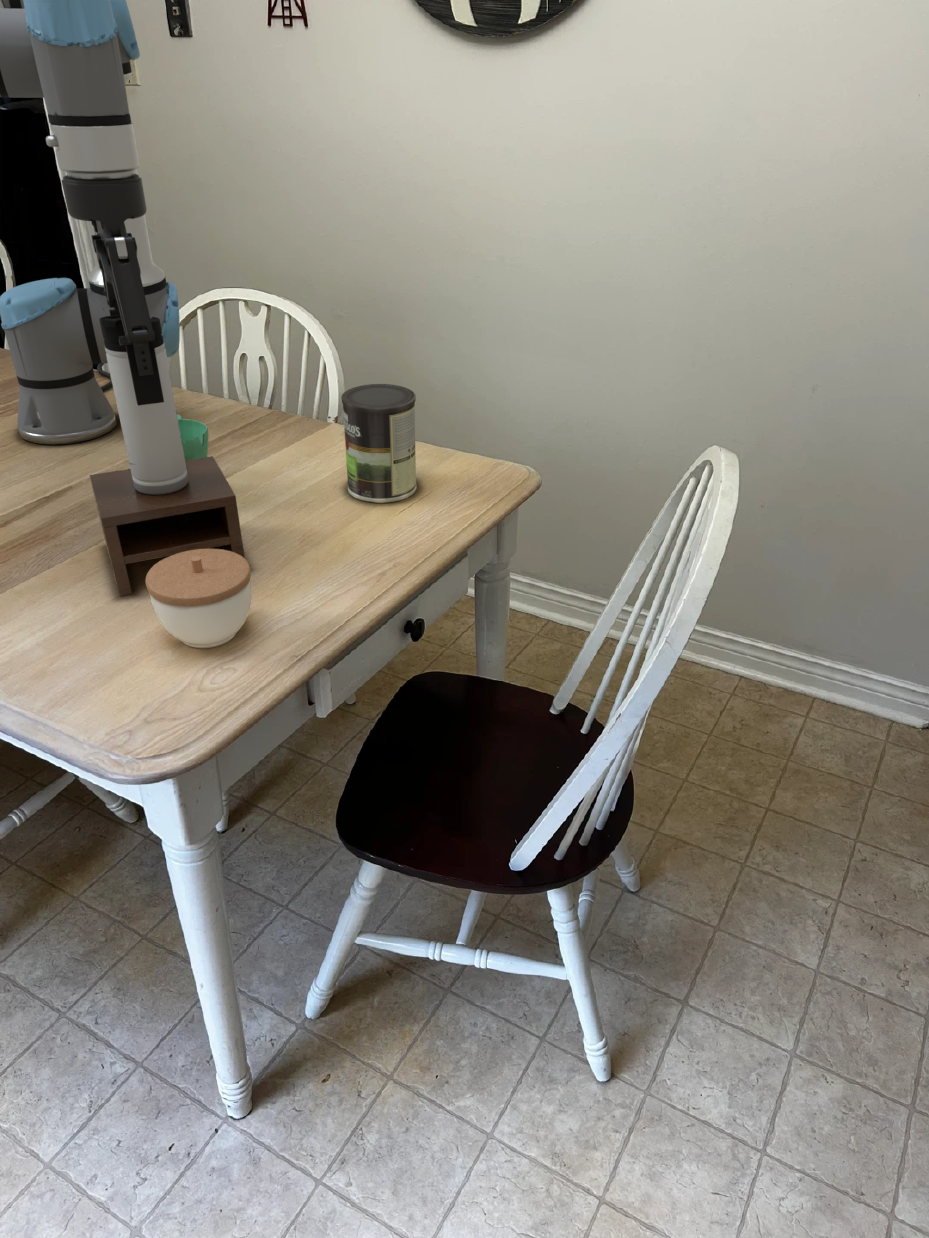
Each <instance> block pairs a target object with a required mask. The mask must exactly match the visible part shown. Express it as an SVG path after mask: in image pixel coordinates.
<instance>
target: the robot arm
mask: <svg viewBox="0 0 929 1238" xmlns="http://www.w3.org/2000/svg"><path fill="white" fill-rule="evenodd" d="M140 55H141V52H140V48H139V45H138V40H137V36H136V32H135V28H134V24H133V21H132V17H131V14H130V10H129V7H128V2H127V0H0V98H3V99H5V98H10V99H11V98H14V99H16V98H18V99H19V98H22V99H23V98H25V99H30V98H32V99H33V98H34V99H41V98H42V99H44V103H45V107H46V111H47V118H48V124H49V125H50V126H49V127H50V130H51V131H52V132H53V133H54V134H53V135H47V136H46V137H45V142H46V145H47V146H48V147H49V148H56V149H55V155H56V159H57V163H58V167H59V169H60V170H61V171H63V172H65V173H67V175H64V176H63V177H62V179H61V185H62V190H63V194H64V199H65V204H66V208H67V212H68V215H69V216H70V217H71V218H73V219H75V220H78V221H83V222H86V227H87V230H88V236H89V240H90V245H91V250H92V254H93V260H94V267H93V269H92V270H91V271H90V272H89V274H88V275H87V281H88V285H89V287H84V288H83V287H82V288H81V287H80V288H77V285H76V283H75V282H74V281H73V280H72V278H68V277H59V278H58V277H52V278H44V279H40V280H39V279H38V280H34V281H29V282H26V283H23V284H20V285H16V286H14V287H12V288H10V289H8V290H6V291H4V292H3V293H2V294H1V295H0V320H1V324H0V325H1V328H2V330H3V332H4V335H5V338H6V342H7V346H8V349H9V350H8V351H9V353H10V357H11V360H12V364H13V368H14V372H15V376H16V378H17V382H18V383H17V384H18V387H19V394H18V405H17V406H18V407H17V421H16V423H17V428H18V429H17V430H18V432H19V435H20V437H21V438H22V439H23V440H24V441H28V442H30V443H35V444H41V445H66V444H75V443H80V442H85V441H89V440H93V439H96V438H99V437H102V436H104V435H106V434H107V433H109V432H112V430H114V429H115V427H116V426H117V418H116V413H115V411H114V409H113V406H112V405H111V403H110V401H109V400H108V398H107V397H106V395H105V393H104V391H105V390H107V389H109V388H111V387H113V384H112V380H111V375H110V372H107V371H105V370H103V369H102V368H103V366H104V365H105V364H108V361H107V356H106V353H107V352H106V351H105V344H104V338H103V335H102V330H101V325H100V321H99V319H100V318H102V317H106V316H114V315H120V316H121V320H122V324H123V328H124V332H125V336H119V343H120V345H125V346H126V351H127V356H128V361H129V366H130V371H131V376H132V381H133V386H134V391H135V396H136V401H137V405H138V406H139V405H147V404H155V403H162V402H164V398H163V393H162V387H161V381H160V376H159V370H158V365H157V359H156V354H155V348H154V343H153V340H154V339H155V332H154V331H153V329H152V324H151V320H150V318H152V317H156V318H159V319H160V324H161V329H162V334H161V335H162V336H163V341H164V343H165V347H164V348H165V349H166V355H167V358H171V357H174V356H175V355H176V354H177V353H178V351H179V349H180V342H181V341H180V339H181V323H180V322H181V321H180V308H179V294H178V289H177V285H176V284H175V283H174V282H171V281H167V279H166V272H165V271H164V270H163V269H162V268H161V267H159V265H157V264H156V263H155V262H154V260H153V254H152V248H151V242H150V237H149V231H148V226H147V219H146V213H147V210H148V209H147V203H146V198H145V192H144V191H145V190H144V185H143V179H142V177H140V176H139V171H138V169H139V167H140V165H141V164H140V157H139V153H138V146H137V141H136V135H135V128H134V123H133V122H132V118H131V114H130V109H129V102H128V96H127V95H128V94H127V90H126V84H127V82H128V81H129V80H130V79H131V77H132V75H133V71H132V65H131V60H132V61H136V60H138V59H139V58H140V57H141V56H140ZM139 327H141V328H144V329H134V330H132V328H139ZM93 365H97V367H96V371H97V372H98V373H99V374H100V375H103V376H105V377H107V378H110V381H108V382H107V383H105V384H103V385H102V386H100V384H99V383H98V380H97V379H96V375H95V371H94V366H93Z"/></svg>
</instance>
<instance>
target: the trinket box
mask: <svg viewBox="0 0 929 1238" xmlns="http://www.w3.org/2000/svg"><path fill="white" fill-rule="evenodd" d="M244 557H245V556H244ZM244 557H242V556H241V555H239V554H237V553H234V552H231V551H227V550H224V549H223V548H222V549H220V548H207V549H196V550H190V551H185V552H181V553H177V554H174V555H171V556H166V557H165V558H163V559H161V560H159V561H158V562H156V563H155V564H153V566H152V567H150V569H149V570H148V572H147V573H146V575H145V586H146V589H147V592H148V594H149V598H150V602H151V606H152V609H153V612H154V615H155V616H156V618H157V620H158V622H159V623H160V625H161V626H162V628H163V629H164V630H165V631H166V632H167V633H168V634H169V635H171V636H172V637H173V638H175V639H177V640H178V641H180V642H182V643H183V644H184V645H186V646H188V647H190V648H196V649H210V648H215V647H219V646H221V645H224V644H226V643H228V642H230V641H231V640H232V639H233V638H234V637H235V636H236V635H237V632H238V631H239V630H241V628H242V627H243V625H245V623H246V622H247V619H248V617H249V615H250V611H251V605H252V600H253V595H252V594H253V590H252V581H251V577H252V572H251V571H252V570H251V565H250V563H249V562H248V560H247V559H246V558H244Z"/></svg>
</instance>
